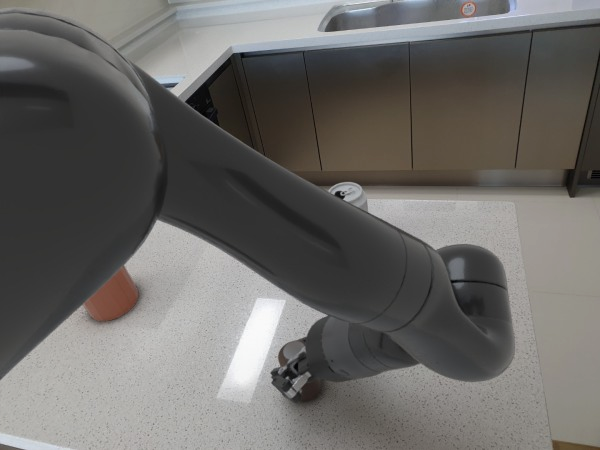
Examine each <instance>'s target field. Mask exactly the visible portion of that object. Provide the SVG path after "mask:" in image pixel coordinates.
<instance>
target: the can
mask: <svg viewBox="0 0 600 450" xmlns="http://www.w3.org/2000/svg"><path fill="white" fill-rule="evenodd" d="M328 192H330V193H331V194H333V195H335V196H337V197H339V198H341V199H343V200H345V201H347V202H349V203H351V204H353V205H355V206H357V207H359V208H361V209H362V210H364V211H366V212H368V213H369V206H368V205H369V204H368V197H367V193H366V192H365V191H364V190H363V187H362V186H361V185H360V184H358V183H356V182H352V181H344V182H339V183H336V184H335V185H332V186H331V187H330V188H329V189H328Z"/></svg>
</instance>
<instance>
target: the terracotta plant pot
mask: <svg viewBox="0 0 600 450" xmlns="http://www.w3.org/2000/svg"><path fill="white" fill-rule="evenodd" d="M139 294H140V293H139V289H138V287H137V284H136V283H135V282H134V279H133V278H132V276H131V274H130V273H129V271H128V269H127V267H126V264H125V265H124V266H123V267H122V268H121V269H120V270H119V271H118V272H117V273H116V274H115V275H114V276H113V277H112V278H111V279H110V280H109V281H108V282H107V283H106V284H104V285H103V286H102V287H101V288H100V289H99V290H98V291H97V292H96V293H95V294H94V295H93V296H92V297H91V298H90V299H88V300H87V301H86V302H85V303H84V304H83V305H82V306H83V308H84V310H85V311H86V313H87V314H88V316H90V317H91V319H93V320H95V321H97V322H109V321H112V320H116V319H118V318H119V317H120V318H121V317H122V316H123V315H125V314H127V313H128V312H129V311H130V310H132V309H133V307H134V306H135V305H136V303H137V302H138V299H139Z"/></svg>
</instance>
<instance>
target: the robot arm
mask: <svg viewBox="0 0 600 450" xmlns="http://www.w3.org/2000/svg"><path fill="white" fill-rule="evenodd" d="M328 191H329V190H328ZM328 191H327V190H326V189H324V188H323V187H320V186H318V185H316V184H314V183H313V182H311V181H309V180H307V179H305V178H303V177H302V176H300V175H298V174H296V173H295V172H294V171H291V170H289V169H287V168H286V167H283V166H282V165H281V164H278V163H276V162H275V161H273V160H272V159H270V158H268V157H266V156H265V155H263V154H261V153H260V152H259V151H257V150H255V149H254V148H253V147H250V146H249V145H247V143H244V142H242V141H241V140H240V139H238V138H237V137H235V136H233V135H232V134H231V133H229V132H228V131H226V130H224V129H223V128H221V127H220V126H218V125H217V124H215V123H214V122H213V121H211V120H210V119H208V118H207V117H205V115H202V114H201V113H200V112H199V111H197V110H195V109H194V108H193V107H192V106H191V105H189V104H188V103H187V102H186V101H184V100H182V99H181V98H180V97H178V96H177V95H176V94H175V93H173V92H172V91H171V90H170V89H168V88H167V87H166V86H165V85H163V84H162V83H160V82H159V81H158V80H156V79H155V78H154V77H153V76H152V75H150V74H149V73H148V72H146V71H145V70H144V69H142V68H141V67H140V66H139V65H137V63H135V62H133V61H132V60H131V59H130V58H129V57H127V56H126V55H125V54H123V53H122V52H121V51H120V50H118V48H117V47H116V46H115V45H114V44H113V43H112V42H110V40H108V39H107V38H105V37H104V36H103V35H101V34H100V33H99V32H98V31H96V30H94V29H93V28H92V27H89V26H88V25H86V24H84V23H82V22H81V21H79V20H76V19H74V18H72V17H70V16H67V15H63V14H59V13H57V12H54V11H49V10H46V9H41V8H40V9H38V8H31V7H22V6H16V7H14V6H13V7H5V8H0V381H2V380H3V379H4V378H5V377H6V376H7V375H8V374H10V372H11V371H12V370H14V368H15V367H16V366H17V365H19V363H21V362H22V361H23V360H24V359H25V358H27V356H28V355H30V354H31V352H33V351H34V350H35V349H36V348H37V347H38V346H40V345H41V344H42V343H43V342H44V341H45V340H46V339H47V338H48V337H49V336H50V335H51V334H52V333H53V332H54V331H56V330H57V329H58V328H59V327H60V326H61V325H62V324H63V323H65V322H66V321H67V320H68V319H69V318H70V317H71V316H72V315H74V313H76V311H78V310H79V309H80V308H81V307H82V306H83V304H84V303H85V302H86V301H87V300H88V299H90V298H91V297H92V296H93V295H94V294H95V293H96V292H97V291H98V290H99V289H100V288H101V287H102V286H103V285H104V284H106V283H107V282H108V281H109V280H110V279H111V278H112V277H113V276H114V275H115V274H116V273H117V272H118V271H119V270H120V269H121V268H122V267H123V266H124V265H125V266H126V264H127V263H128V262H129V261H130V259H131V258H132V257H133V256H134V255H135V254H136V253H137V252H138V251H139V250H140V248H141V247H142V246H143V244H144V243H145V242H146V240H147V239H148V237H149V235H150V234H151V233H152V230H153V228H154V227H155V225H156V223H157V221H159V222H162V223H164V224H167V225H169V226H172V227H175V228H177V229H178V230H181V231H184V232H185V233H187V234H189V235H192V236H194V237H196V238H198V239H200V240H202V241H204V242H206V243H207V244H209V245H211V246H213V247H215V248H217V249H219V250H220V251H221V252H224V253H225V254H227V255H228V256H230V257H231V258H233V259H234V260H236V261H238V262H239V263H241V264H242V265H244V266H245V267H247V268H248V269H249V270H251V271H252V272H254V273H255V274H257V275H258V276H260V277H261V278H263V279H264V280H266V281H267V282H269V283H270V284H272V285H273V286H275V287H276V288H278V289H279V290H281V291H282V292H284V293H286V294H287V295H289V296H290V297H291V298H293V299H295V300H296V301H297V302H299V303H301V304H303V305H305V306H307V307H309V308H311V309H312V310H315V311H317V312H319V313H322V314H324V315H325V316H323V317H322V318H319V319H317V320H316V321H315V322H313V324H312V325H311V326H310V328H309V330H308V332H307V334H306V335H305V336H304V337H302V338H298V339H297V340H301V341H305V342H306V343H305V347H303V348H302V350H301V351H300V352H299V353H297V354H295V355H294V356H292V357H291V358H290V359H289V361H288V363H287V364H286V365H285V366H281V367H280V366H278V367H274V368H273V369H272V370H271V371H270V375H271V376H270V379H272V380H271V383H270V384H271V385H272V386H273V387H275V388H276V390H278V392H279V393H280V394H281V395H282V396H283V397H284V398H285V399H287V400H288V401H290V402H292V403H294V404H297V403H298V402H301V401H300V399H301V397H302V394H301V392H302V390H301V388H302V386H303V385H304V384H305V383H307V382H308V383H311V382H314V381H315V380H317V379H318V378H320V380H323V381H328V382H332V383H342V382H348V381H355V380H361V379H366V378H372V377H376V376H378V375H381V374H383V373H386V372H391V371H397V370H401V369H408V368H412V367H415V366H418V365H420V364H421V365H422V366H424V367H425V368H427V369H428V370H429V371H432V372H434V373H436V374H438V375H440V376H443V377H445V378H448V379H451V380H455V381H458V382H464V383H480V382H486V381H487V382H488V381H490V380H493V379H495V378H497V377H499V376H500V375H502V374H503V373H504V372H506V371H507V370H508V368H509V367H510V365H511V364H512V362H513V361H514V358H515V354H516V338H515V332H514V325H513V324H514V323H513V316H512V310H511V302H510V295H509V285H508V280H507V279H508V278H507V274H506V270H505V267H504V265H503V263H502V260H500V258H499V257H498V255H496V254H494V252H492V251H491V250H489V249H487V248H485V247H483V246H480V245H476V244H470V243H456V244H450V245H446V246H443V247H440V248H437V249H435V248H434V247H433V246H432V245H430V244H429V243H427V242H426V241H424V240H423V239H421V238H419V237H416V236H414V235H413V234H411V233H409V232H407V231H405V230H403V229H401V228H399V227H398V226H396V225H394V224H392V223H390V222H388V221H386V220H384V219H383V218H380V217H378V216H376V215H374V214H372V213H370V212H369V211H368V212H366V211H364V210H362V209H361V208H359V207H357V206H355V205H353V204H351V203H349V202H347V201H345V200H343V199H341V198H339V197H337V196H335V195H333V194H331V193H330V192H328ZM290 371H291V372H292V373H293V374H294V375H295V376H294V375H293V374H292V373H291V372H290Z"/></svg>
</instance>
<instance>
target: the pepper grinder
mask: <svg viewBox="0 0 600 450" xmlns="http://www.w3.org/2000/svg"><path fill="white" fill-rule="evenodd" d="M305 343H306V342H305V341H301V340H298V339H295V340H291V341H289V342H287V343H285V344H283V346H281V348H280V350H279V351H278V355H277V360H278V364H279V367H281V366H285V365H286V364H287V363H288V361H289V359H290V358H291V357H292V356H294V355H295V354H297V353H299V352H300V351H301V350H302V348H303V347H305ZM290 372H291V371H290ZM291 373H292V372H291ZM292 374H293V373H292ZM293 375H294V374H293ZM294 376H295V375H294ZM321 389H322V379H320V378H318V379H317V380H315V381H314V382H311V383H308V382H307V383H305V384H304V385H303V386H302V388H301V390H302V392H301V394H302V397H301V399H300V401H299V402H300V403H304V402H310V401H312V400H314V399H315V398H316V397H317V396H318V395H319V394H320V392H321Z"/></svg>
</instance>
